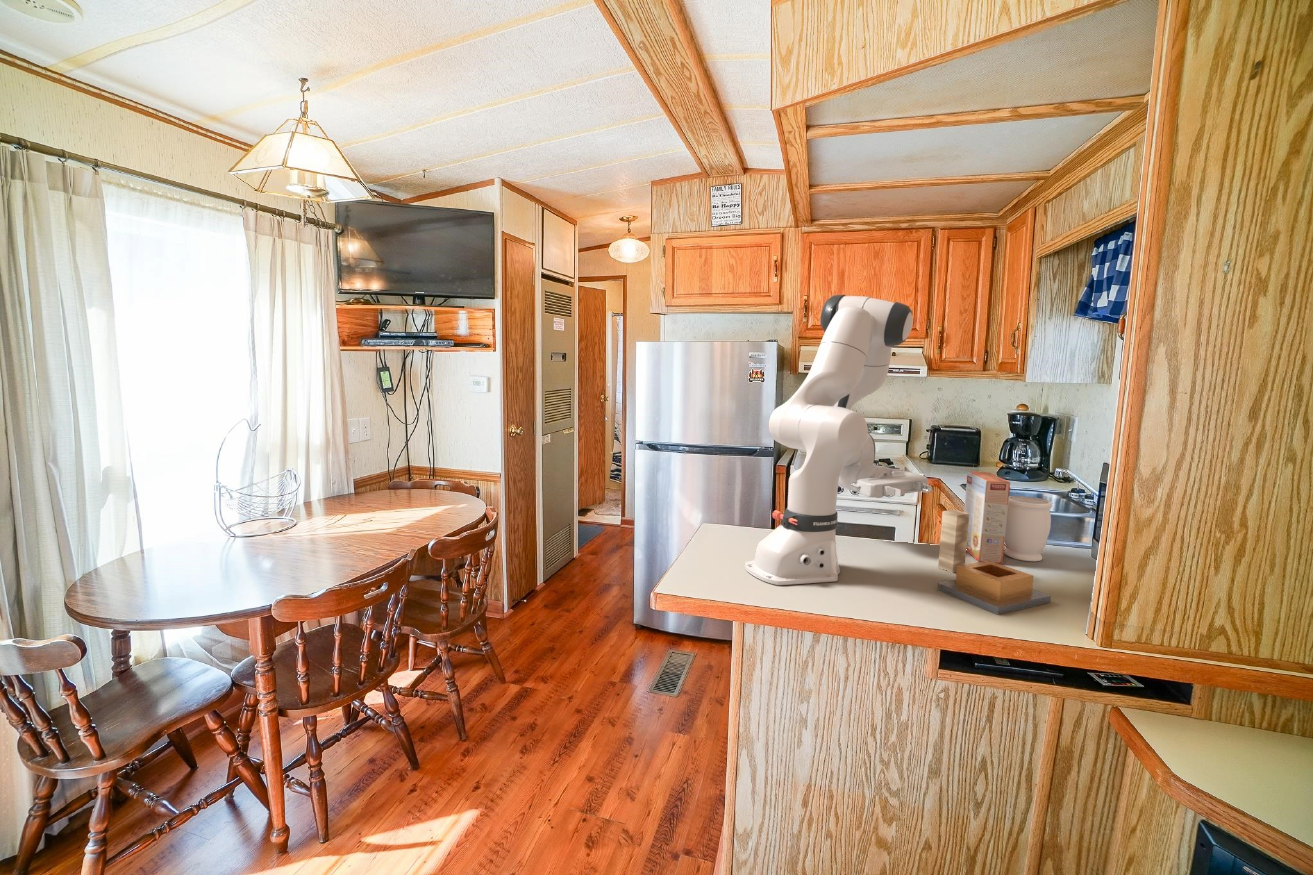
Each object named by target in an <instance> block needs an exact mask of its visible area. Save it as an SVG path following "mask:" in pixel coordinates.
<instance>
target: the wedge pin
mask: <svg viewBox="0 0 1313 875" xmlns="http://www.w3.org/2000/svg"><path fill="white" fill-rule="evenodd" d="M968 523H969V513H965V512H964V511H961V510H957V509H948V510H943V511H942V515H941V527H940V539H939V552H938V553H939V555H938V566H937V567H939V568H938V569H940V568H941V570H943V569H944V570H943V571H946V570H947V571H946V572H948V571H949V572H948V573H951V572H952V573H951V574H954V573H953V572H956V573H957V566H961V565H966V560H967V559H966V558H967V557H966V556H967V551H966V547H967V535H968Z"/></svg>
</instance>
